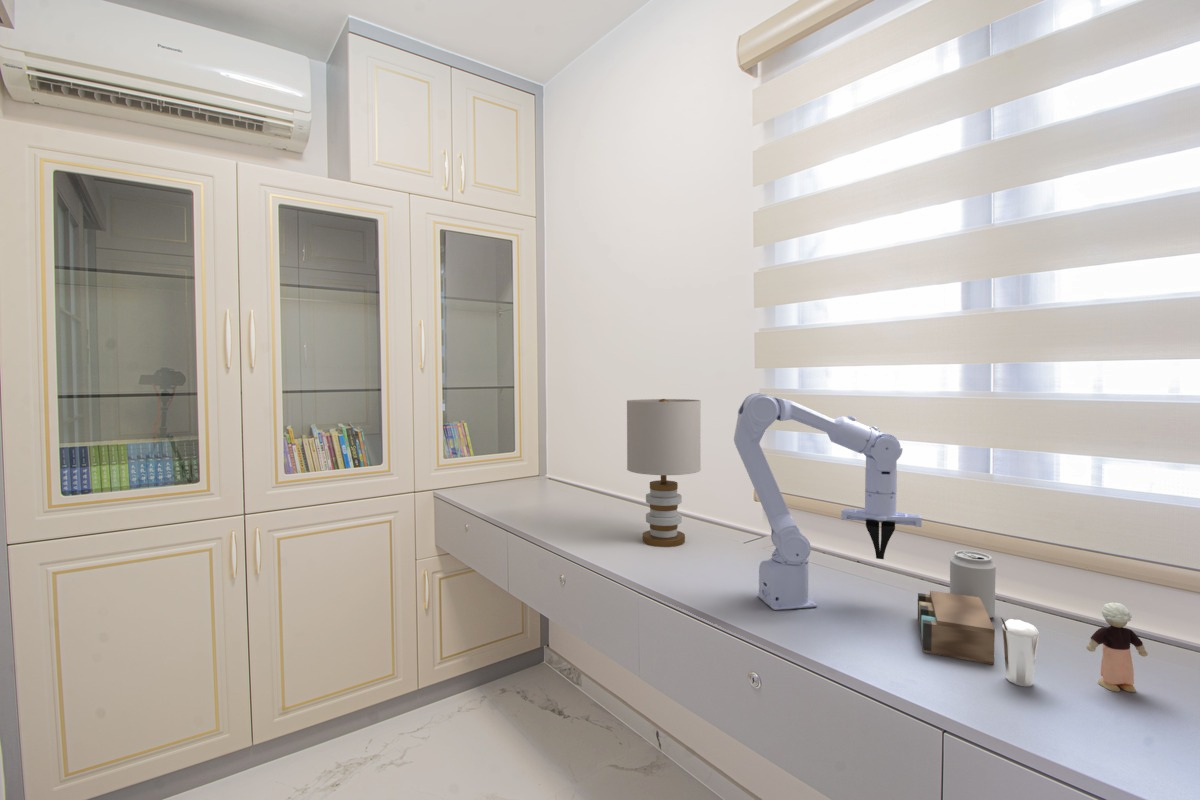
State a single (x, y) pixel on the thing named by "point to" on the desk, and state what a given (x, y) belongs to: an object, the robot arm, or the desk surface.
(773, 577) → the robot arm
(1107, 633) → the grandmother figurine
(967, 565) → the can
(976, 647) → the walnut block
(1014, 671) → the milkshake
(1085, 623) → the desk surface
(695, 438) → the lamp
